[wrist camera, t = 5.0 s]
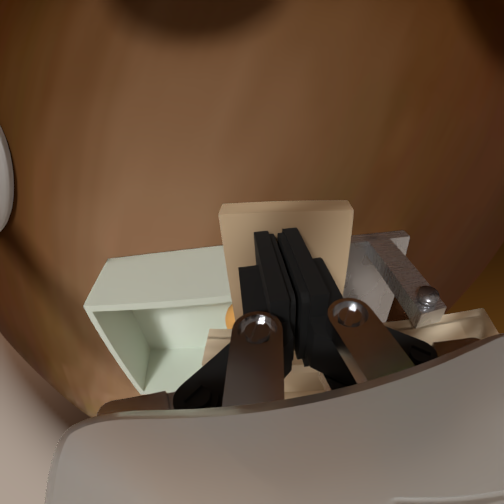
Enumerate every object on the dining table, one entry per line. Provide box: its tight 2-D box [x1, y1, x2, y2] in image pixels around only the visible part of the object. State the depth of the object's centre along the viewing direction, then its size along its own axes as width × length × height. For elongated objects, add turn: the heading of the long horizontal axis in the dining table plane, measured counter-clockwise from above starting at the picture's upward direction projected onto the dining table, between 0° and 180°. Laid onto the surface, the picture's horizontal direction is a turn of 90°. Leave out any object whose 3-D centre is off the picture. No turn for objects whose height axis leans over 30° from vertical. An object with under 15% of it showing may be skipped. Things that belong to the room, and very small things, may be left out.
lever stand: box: [343, 230, 446, 329], centre depth 20 cm, size 6×11×9 cm, turn 4°
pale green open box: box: [83, 246, 232, 394], centre depth 21 cm, size 13×11×6 cm
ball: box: [225, 304, 235, 329], centre depth 21 cm, size 4×4×4 cm
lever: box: [202, 200, 499, 399], centre depth 14 cm, size 19×15×4 cm
